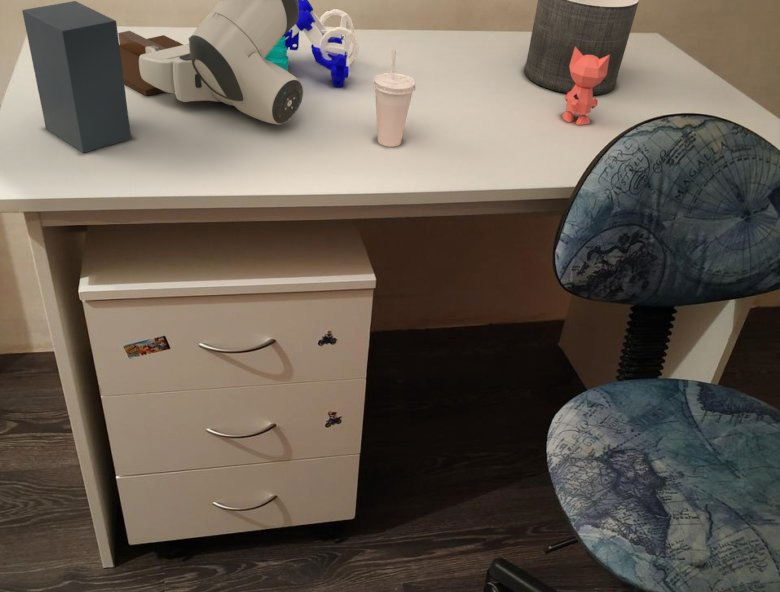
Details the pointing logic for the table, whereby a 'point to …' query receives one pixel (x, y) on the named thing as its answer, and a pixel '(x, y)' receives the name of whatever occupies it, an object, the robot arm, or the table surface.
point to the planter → (578, 39)
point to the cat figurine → (584, 85)
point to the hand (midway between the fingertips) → (171, 45)
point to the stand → (78, 74)
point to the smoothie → (392, 104)
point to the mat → (132, 66)
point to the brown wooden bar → (135, 43)
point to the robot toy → (320, 42)
